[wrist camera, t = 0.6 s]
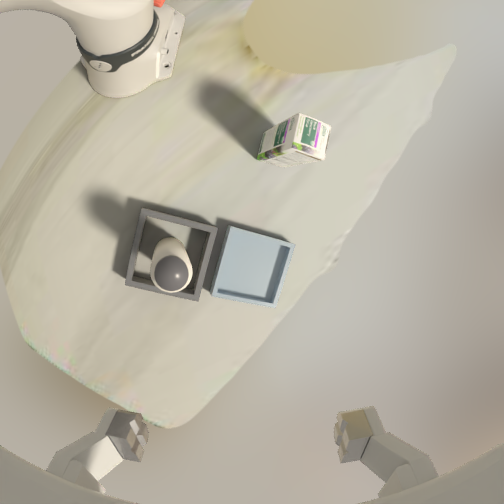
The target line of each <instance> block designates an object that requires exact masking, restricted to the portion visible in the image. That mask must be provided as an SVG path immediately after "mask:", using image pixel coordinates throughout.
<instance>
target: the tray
mask: <svg viewBox="0 0 504 504" xmlns="http://www.w3.org/2000/svg"><path fill="white" fill-rule="evenodd" d="M294 248H295V244H293V243H290V242H287V241H283V240H280V239H276V238H273V237H269V236H265V235H262V234H258V233H255V232H251V231H248V230H244V229H240V228H237V227H233V226H229V225H228V227H227V231H226V234H225V238H224V241H223V245H222V248H221V252H220V256H219V259H218V263H217V267H216V270H215V274H214V278H213V281H212V285H211V289H210V294H211V296H213V297H218V298H223V299H228V300H233V301H239V302H244V303H249V304H255V305H260V306H266V307H272V308H276V305H277V302H278V299H279V296H280V293H281V290H282V287H283V284H284V280H285V277H286V274H287V271H288V268H289V264H290V261H291V258H292V254H293V251H294Z"/></svg>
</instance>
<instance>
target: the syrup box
mask: <svg viewBox="0 0 504 504" xmlns="http://www.w3.org/2000/svg"><path fill="white" fill-rule="evenodd" d="M330 130H331V126H330V125H328V124H325V123H323V122H321V121H319V120H317V119H314V118H312V117H309V116H307V115H304V114H301V113H297V114H296V115H294V116H292V117H290V118H288V119H286V120H285V121H283V122H281V123H279V124H278V125H276V126H274V127H272V128H271V129H269V130H267V131H265V132H264V133H263V136H262V140H261V144H260V148H259V152H258V156H257V160H259V161H263V162H266V163H270V164H273V165H277V166H280V167H283V168H285V167H290V166H295V165H300V164H305V163H310V162H315V161H321V160H325V154H326V149H327V145H328V141H329V135H330Z"/></svg>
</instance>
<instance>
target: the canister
mask: <svg viewBox="0 0 504 504" xmlns="http://www.w3.org/2000/svg"><path fill="white" fill-rule="evenodd" d="M192 272H193V271H192V265H191V263H190V260H189V258H188V255H187V252H186V250H185V247H184V245H183V244H182V242H181V241H180V240H178V239H176V238H173V237H167V238H164V239H162V240H160V241H159V242H158V243H157V245H156V246H155V249H154V254H153V258H152V263H151V267H150V276H151V279H152V281H153V283H154V284H155V286H156V287H157V288H159V289H160V290H162V291H165V292H169V293H173V292H178V291H181V290H183V289H184V288H185V287H186V286H187V285H188V284H189V282H190V281H191V278H192Z"/></svg>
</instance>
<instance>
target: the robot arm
mask: <svg viewBox="0 0 504 504" xmlns="http://www.w3.org/2000/svg"><path fill="white" fill-rule="evenodd" d="M164 2H165V0H0V13H3V12H8V11H14V10H37V11H42V12H47V13H50V14H53V15H56V16H58V17H60V18H62V19H63V20H65V21H66V22H67V23H68V24H69V26H70V27H71V29H72V30H73V32H74V33H75V35H76V42H77V46H78V49H79V50H80V52H81V54H82V56H81V62H82V64H83V66H84V67H85V68H86V69H87V74H88V79H89V82H90V85H91V86H92V88H93V89H94V90H95V91H96V92H98V93H99V94H101V95H103V96H106V97H112V98H121V97H127V96H131V95H134V94H136V93H138V92H140V91H142V90H144V89H145V88H147V87H148V86H149V85H151V84H152V83H154V82H157V81H160V80H164V79H167V78H169V77H170V76H171V75H172V72H173V68H174V63H175V59H176V55H177V51H178V46H179V42H180V39H181V35H182V31H183V27H184V23H185V17H184V16H183V15H182V14H181V13H180V12H178V11H176V10H174V9H173V8H172V7H171V6H169V5H168V4H165V3H164ZM174 14H175V15H174ZM165 66H169V67H168V68H165ZM142 420H143V417H142V415H141V413H135V412H130V411H125V410H120V409H115V408H108V409H107V410H106V412H105V413H104V416H103V417H102V419H101V421H100V423H99V425H98V427H97V429H96V431H95V432H91V433H89V434H87V435H86V436H84V437H82V438H80V439H79V440H77V441H75V442H74V443H72V444H70V445H69V446H66V447H65V448H63V449H61V450H59V451H57V452H56V454H55V455H54V457H53V459H52V461H51V462H50V464H49V466H48V468H47V470H46V471H45V470H43V469H41V468H39V467H37V466H35V465H33V464H31V463H29V462H27V461H26V460H24V459H22V458H20V457H18V456H17V455H15V454H13V453H12V452H10V451H8V450H7V449H5V448H4V447H2V446H1V445H0V504H138V503H134V502H130V501H126V500H122V499H119V498H115V497H112V496H109V495H105V491H106V490H105V488H104V487H103V486H102V485H101V484H100V483H99V482H98V481H99V480H100V479H101V478H102V477H103V476H105V475H106V474H107V473H108V472H109V471H111V470H112V469H113V468H114V467H116V466H117V465H118V464H119V463H120V462H121V461H123V459H126V460H132V461H137V462H141V459H142V456H143V453H144V450H143V448H142V446H144V445H145V444H147V441H148V433H149V432H148V428H147V425H146V424H145V423H143V422H142ZM337 421H338V422H337V423H336V424H335V427H334V438H335V442H336V444H337V445H338V446H339V449H338V455H339V458H340V462H341V463H346V462H351V461H357V460H360V461H361V462H362V463H363V464H364V465H366V466H367V467H368V468H369V469H370V470H371V471H373V472H374V473H375V474H376V475H378V477H380V478H381V479H382V480H383V481H385V482H386V484H385V485H384V486H383V488H382V489H381V490H380V492H379V493H378V496H379V498H378V499H374V500H371V501H367V502H363V503H359V504H504V444H499V445H497V446H495V447H493V448H492V449H490V450H489V451H487V452H485V453H484V454H482V455H480V456H478V457H477V458H475V459H473V460H471V461H470V462H467V463H466V464H464V465H462V466H460V467H458V468H456V469H454V470H452V471H450V472H448V473H445V474H443V475H441V476H438V474H437V471H436V469H435V467H434V465H433V463H432V461H431V459H430V457H429V455H427V454H426V453H424V452H422V451H420V450H419V449H417V448H415V447H413V446H411V445H410V444H408V443H406V442H405V441H403V440H401V439H399V438H398V437H396V436H395V435H393V434H391V433H390V432H389V433H386V431H385V429H384V427H383V425H382V422H381V420H380V418H379V416H378V413H377V411H376V409H375V408H374V406H370V407H365V408H358V409H353V410H348V411H342V412H339V413H338V414H337Z"/></svg>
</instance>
